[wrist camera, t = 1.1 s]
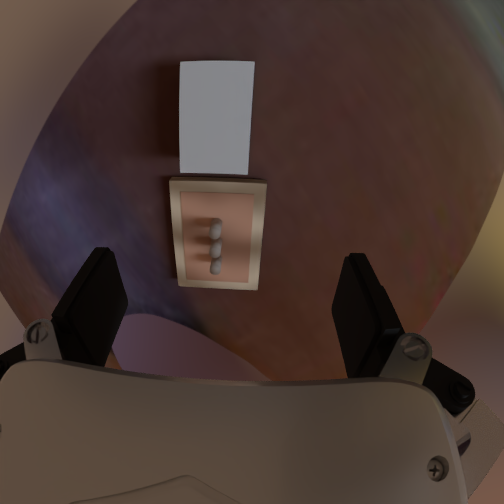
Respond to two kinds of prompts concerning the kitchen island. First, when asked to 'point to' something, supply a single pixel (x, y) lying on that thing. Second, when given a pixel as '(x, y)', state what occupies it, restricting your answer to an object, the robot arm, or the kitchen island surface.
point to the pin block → (217, 231)
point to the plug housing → (215, 116)
